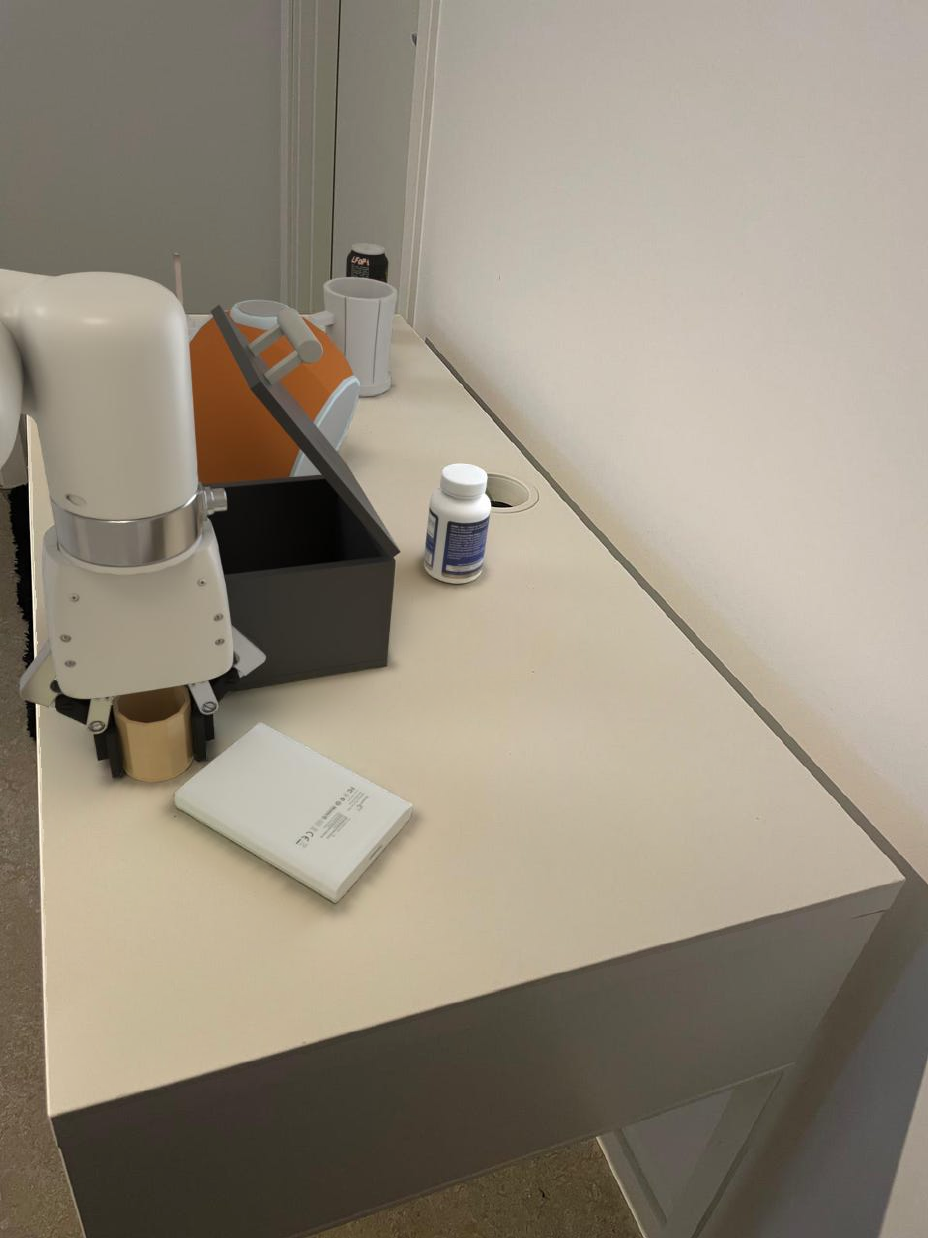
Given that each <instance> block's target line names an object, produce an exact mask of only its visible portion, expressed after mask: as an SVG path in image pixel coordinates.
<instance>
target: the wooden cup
mask: <svg viewBox="0 0 928 1238" xmlns="http://www.w3.org/2000/svg"><path fill="white" fill-rule="evenodd" d="M112 704H113V711H114V717H115V724H116V726H117V733H118V739H119V746H120V752H121V759H122V766H123V771H124V772H125V773H126V774H127V775H128V776H130V777H131V778H133V779H135V780H138V781H141V782H147V783H159V782H165V781H169V780H171V779H175V778H176V777H179V776H180V775H181V774H183V773H185V771H186V770H188V768H190V766H191V765H192V763H193V761H194V759H195V755H194V746H193V734H192V723H191V701H190V697H189V692H188V689H187V688H186V687H185V686H183V685H180V686H174V687H168V688H162V689H156V690H149V691H143V692H137V693H130V694H124V695H117V696H113V700H112Z"/></svg>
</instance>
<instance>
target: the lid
mask: <svg viewBox="0 0 928 1238" xmlns="http://www.w3.org/2000/svg"><path fill="white" fill-rule="evenodd" d="M210 314H212V316H213V318H214V320H215V322H216V324H217V325H218V327H219V329H220V331H221V333H222V335H223V337H224V339H225V341H226V343H227V345H228V347H229V349H230V351H231V353H232V355H233V357H234V359H235V361H236V362H237V364H238V366H239V368H240V370H241V372H242V374H243V376H244V378H245V380H246V382H247V384H248V386H249V388H250V390H251V391H252V392H253V393H254V394H255V396H256V397H257V398H258V399H259V400H260V402H261V403H262V404H263V405H264V406H265V407H266V409H267V410H268V411H269V412H270V413H271V415H272V416H273V417H274V418H275V419H276V421H277V422H278V423H279V424H280V425H281V427H282V428H283V429H284V430H285V431H286V433H287V434H288V435H289V436H290V437H291V439H292V440H293V441H294V442H295V443H296V445H297V446H298V447H299V448H300V449H301V451H302V452H303V453H304V454H305V455H306V456H307V458H308V459H309V460H310V461H311V462H312V464H313V465H314V466H315V467H316V468H317V470H318V471H319V472H320V473H321V474H322V476H323V477H324V478H325V479H326V480H327V482H328V483H329V484H330V485H331V486H332V488H333V489H334V490H335V491H336V492H337V494H338V495H339V496H340V497H341V498H342V499H343V501H344V502H345V503H346V504H347V505H348V507H349V508H350V509H351V510H352V511H353V513H354V514H355V515H356V516H357V517H358V519H359V520H360V521H361V522H362V523H363V525H364V526H365V527H366V528H367V529H368V531H369V532H370V533H371V534H372V535H373V537H374V538H375V539H376V540H377V541H378V542H379V544H380V545H381V546H382V547H383V548H384V550H385V551H386V552H387V553H388V554H389V556H390V557H391V558H393V557H394V558H395V557H397V555H399V554H400V553H401V549H400V548H399V546H398V545H397V543H396V541H395V540H394V538H393V537H392V535H391V534H390V532H389V530H388V529H387V527H386V525H385V524H384V522H383V521H382V519H381V517H380V516H379V514H378V512H377V510H376V509H375V507H374V506H373V504H372V502H371V501H370V499H369V498H368V496H367V495H366V493H365V491H364V490H363V488H362V487H361V485H360V483H359V481H358V479H356V476H355V475H354V473H353V472H352V469H351V468H350V467H349V465H348V463H346V461H345V459H344V458H342V456H341V455H340V454H339V452H338V451H336V450H335V449H334V448H333V446H332V445H331V444H330V443H329V441H328V440H327V439H326V438H325V436H324V435H323V434H322V433H321V431H320V430H319V429H318V428H317V426H316V425H315V424H314V423H313V421H312V420H311V419H310V418H309V416H308V415H307V414H306V412H305V411H304V410H303V409H302V407H301V406H300V405H299V404H298V402H297V401H296V400H295V399H294V397H293V396H292V395H291V394H290V392H289V391H288V390H287V389H286V387H285V386H284V385H283V384H282V382H281V381H280V379H281V378H283V377H284V376H285V375H287V374H288V373H289V372H291V371H292V370H293V369H295V368H296V367H297V366H299V365H300V364H301V363H303V362H305V363H315V362H317V361H318V360H319V359H320V358H321V356H322V352H323V349H322V346H321V344H320V342H319V341H318V340H317V338H316V337H315V335H314V334H313V333H312V331H311V330H310V329H309V327H308V326H307V324H306V323H305V322H304V320H303V319H302V317H303V316H301V315H300V313H299V312H298V311H297V310H296V309H295V308H292V307H289V308H286V309H283V310H282V311H281V312H280V313H279V314H278V317H277V324H275V325H274V326H273V327H271V328H270V329H269V330H267V331H266V332H265V333H263V334H262V335H261V336H259V337H258V338H257V339H256V340H254V341H253V342H252V343H250V342H249V341H248V340H247V339H246V337H245V336H244V335H243V334H242V332H241V331H240V330H239V329H238V327H237V326H236V325H235V324H234V322H233V321H232V320H231V319H230V317H229V316H228V315H227V314H226V312H225V309H223V307H222V306H221V305H220V304H218V305H216V306H215V307H214V308H213V309H211V310H210ZM284 335H285V336H286V338H287V339H288V341H289V343H290V344H291V346H292V347H293V349H294V350H295V351H293V352H292V353H291V354H289V355H288V356H287V357H285V358H284V359H283V360H282V361H280V362H279V363H278V364H276V365H275V366H274V367H272V368H271V369H270V367H269V366H268V365H267V364H266V362H265V361H264V360H263V359H262V357H261V356H260V355H259V354H260V353H261V352H262V351H264V350H265V349H266V348H268V347H269V346H270V345H272V344H273V343H274V342H276V341H277V340H278V339H280V338H281V337H282V336H284Z"/></svg>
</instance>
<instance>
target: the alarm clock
mask: <svg viewBox="0 0 928 1238" xmlns="http://www.w3.org/2000/svg"><path fill="white" fill-rule="evenodd" d="M286 308H290V306H289V305H287V304H285V303H281V302H278V301H274V300H267V299H266V300H265V299H248V300H247V299H246V300H242V301H240V302H236V303H234V305H232V307H231V309H230V310H227V309H226V310H225V309H224V311H225V312H226V314H227V315H228V316H229V317H230V319H231V320H232V321H233V322H234V324H235V325H236V326H237V327H238V329H239V330H240V331H241V332H242V334H243V335H244V336H245V337H246V339H247V340H248V341H249V342H250V343H252V342H253V341H254V340H256V339H257V338H258V337H259V336H261V335H262V334H263V333H265V332H266V331H267V330H269V329H270V328H271V327H273V326H274V325H275V324H277V317H278V314H279V313H280V312H281V311H282V310H283V309H286ZM301 317H302V319H303V320H304V322H305V323H306V324H307V326H308V327H309V329H310V330H311V331H312V333H313V334H314V335H315V337H316V338H317V340H318V341H319V342H320V344H321V346H322V349H323V352H322V356H321V358H320V359H319V360H318V361H317V362H315V363H305V362H303V363H301V364H300V365H299V366H297V367H296V368H295V369H293V370H292V371H291V372H289V373H288V374H287V375H285V376H284V377H283V378H281V379H280V381H281V382H282V384H283V385H284V386H285V387H286V389H287V390H288V391H289V392H290V394H291V395H292V396H293V397H294V399H295V400H296V401H297V402H298V404H299V405H300V406H301V407H302V409H303V410H304V411H305V412H306V414H307V415H308V416H309V418H310V419H311V420H312V421H313V423H314V424H315V425H316V426H317V428H318V429H319V430H320V431H321V433H322V434H323V435H324V436H325V438H326V439H327V440H328V441H329V443H330V444H331V445H332V446H333V448H334V449H335V450H336V451H337V452H338V451H339V449H340V447H341V445H342V444H343V441H344V439H345V437H346V434H347V433H348V430H349V427H350V425H351V423H352V420H353V417H354V414H355V411H356V408H357V405H358V402H359V388H360V382H359V381H358V379H357V378H356V377H355V376H354V374H353V372H352V370H351V367H350V365H349V363H348V361H347V360H346V358H345V357H344V355H343V354H342V352H341V351H340V350H339V349H338V348H337V346H336V345H335V344H334V343H333V341H332V340H331V339H330V338H329V337H328V335H327V334H326V331H323V330H322V329H319V328H318V327H316V326H315V325H314V324H312V323H311V322H310V321H308V320H307V319H308V318H306V317H304V316H301ZM200 322H201V323H200V324H198V325H197V326H196V328H195V329H194V331H193V332H192V333H191V335H190V336H189V348H190V363H191V379H192V394H193V409H194V425H195V440H196V454H197V470H198V482H202V484H210V483H223V482H235V481H248V480H260V479H273V478H285V477H298V476H310V475H322V474H321V473H320V472H319V471H318V470H317V468H316V467H315V466H314V465H313V464H312V462H311V461H310V460H309V459H308V458H307V456H306V455H305V454H304V453H303V452H302V451H301V449H300V448H299V447H298V446H297V445H296V443H295V442H294V441H293V440H292V439H291V437H290V436H289V435H288V434H287V433H286V431H285V430H284V429H283V428H282V427H281V425H280V424H279V423H278V422H277V421H276V419H275V418H274V417H273V416H272V415H271V413H270V412H269V411H268V410H267V409H266V407H265V406H264V405H263V404H262V403H261V402H260V400H259V399H258V398H257V397H256V396H255V394H254V393H253V392H252V391H251V390H250V388H249V386H248V384H247V382H246V380H245V378H244V376H243V374H242V372H241V370H240V368H239V366H238V364H237V362H236V361H235V359H234V357H233V355H232V353H231V351H230V349H229V347H228V345H227V343H226V341H225V339H224V337H223V335H222V333H221V331H220V329H219V327H218V325H217V324H216V322H215V320H214V318H213V316H212V314H211V313H210V314H209V315H208V316H207V317H205V319H203V320H202V321H200ZM293 351H295V350H294V349H293V347H292V346H291V344H290V343H289V341H288V339H287V338H286V336H285V335H284V336H282V337H281V338H280V339H278V340H277V341H276V342H274V343H273V344H272V345H270V346H269V347H268V348H266V349H265V350H264V351H262V352H261V353H260V354H259V355H260V356H261V357H262V359H263V360H264V361H265V362H266V364H267V365H268V366H269V367H270V369H271V368H272V367H274V366H275V365H276V364H278V363H279V362H280V361H282V360H283V359H284V358H285V357H287V356H288V355H289V354H291V353H292V352H293Z"/></svg>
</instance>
